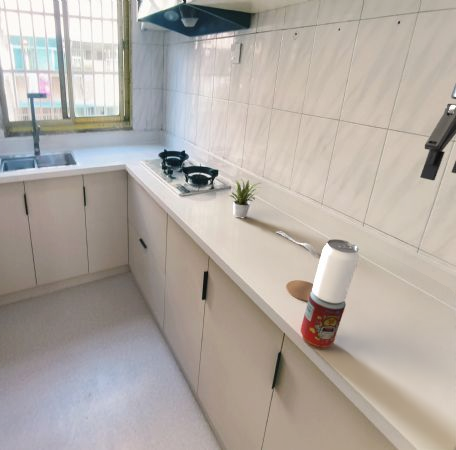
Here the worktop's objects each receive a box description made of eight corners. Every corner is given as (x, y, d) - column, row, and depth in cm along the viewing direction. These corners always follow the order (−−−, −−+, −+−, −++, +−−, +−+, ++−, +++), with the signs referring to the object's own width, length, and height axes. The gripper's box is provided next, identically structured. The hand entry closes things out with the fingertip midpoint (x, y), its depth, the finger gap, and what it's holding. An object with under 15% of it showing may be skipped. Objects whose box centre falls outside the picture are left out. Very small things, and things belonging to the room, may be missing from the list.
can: (309, 284, 76) (321, 236, 71) (339, 289, 74) (354, 240, 70) (315, 302, 70) (329, 250, 65) (349, 306, 69) (365, 255, 64)
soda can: (310, 353, 73) (323, 306, 68) (293, 330, 80) (304, 287, 75) (339, 350, 74) (354, 304, 69) (320, 328, 81) (333, 285, 76)
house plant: (266, 217, 145) (272, 180, 138) (249, 226, 135) (256, 187, 129) (236, 208, 154) (241, 173, 147) (219, 216, 144) (224, 179, 138)
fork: (279, 237, 132) (280, 230, 132) (320, 256, 114) (321, 249, 113) (273, 237, 132) (274, 231, 131) (313, 257, 113) (314, 250, 112)
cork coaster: (323, 286, 97) (323, 285, 97) (325, 305, 89) (325, 304, 89) (286, 278, 101) (286, 277, 100) (285, 296, 92) (285, 295, 92)
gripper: (486, 81, 81) (452, 168, 90) (427, 78, 71) (395, 177, 79) (528, 82, 75) (488, 175, 83) (470, 79, 65) (431, 185, 73)
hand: (443, 176), depth 81 cm, fingers open, 13 cm apart
